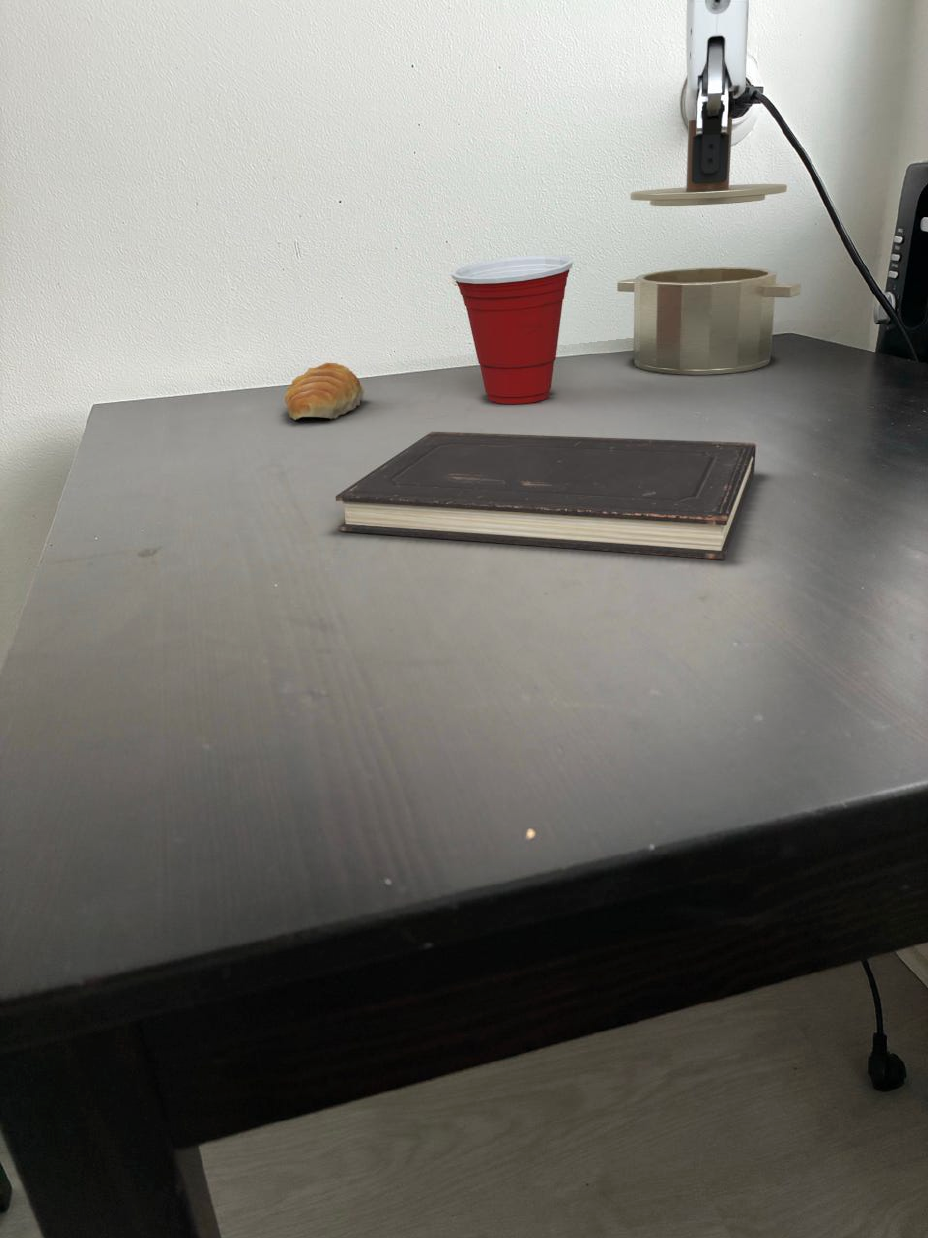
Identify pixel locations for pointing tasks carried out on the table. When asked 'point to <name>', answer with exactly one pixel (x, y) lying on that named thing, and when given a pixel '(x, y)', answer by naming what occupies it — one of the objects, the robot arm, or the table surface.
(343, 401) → the pastry
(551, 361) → the plastic cup
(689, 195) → the lid
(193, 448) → the table surface
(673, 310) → the pot
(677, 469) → the hardcover book
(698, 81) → the robot arm
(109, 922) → the table surface
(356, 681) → the table surface
